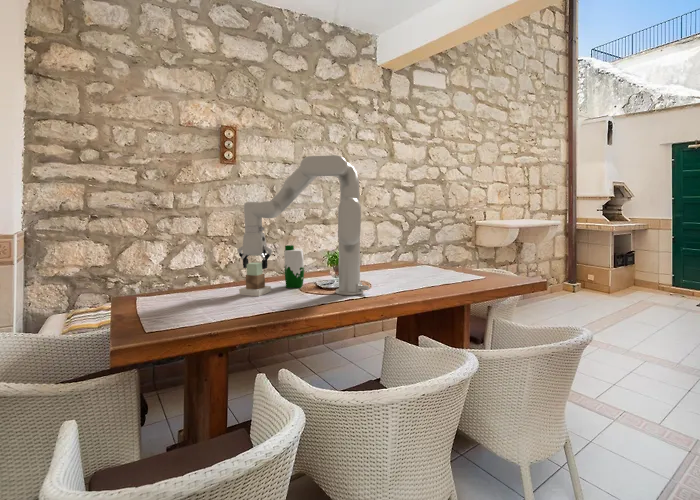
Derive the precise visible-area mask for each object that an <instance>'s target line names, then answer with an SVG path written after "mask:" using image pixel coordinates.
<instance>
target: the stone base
mask: <svg viewBox="0 0 700 500" xmlns="http://www.w3.org/2000/svg"><path fill="white" fill-rule="evenodd" d="M238 290H239V292H238V293H239V295H240V296H241V295H242V296H252V297H260V296H263V295H265V294H269V293H271V292H272V286H271V285H265V287H263V288H260V289H246V286H245V287H241V288H239V289H238Z"/></svg>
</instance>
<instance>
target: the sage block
mask: <svg viewBox="0 0 700 500" xmlns="http://www.w3.org/2000/svg"><path fill="white" fill-rule="evenodd" d="M263 271H264V269H262V262H248V264H247V268H246V275H254V276H257V275H261V274H264V272H263Z"/></svg>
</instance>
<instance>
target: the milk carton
mask: <svg viewBox="0 0 700 500" xmlns="http://www.w3.org/2000/svg"><path fill="white" fill-rule="evenodd" d="M284 247H285V248H284V253H283V254H284V281H285V288H286V289H301V288H302V287H303V286H304V278H305V267H304V266H305V260H304V258H305V257H304V249H302V248H295V247H294V245H292V244H291V245H290V244H288V245H284Z"/></svg>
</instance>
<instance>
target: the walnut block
mask: <svg viewBox="0 0 700 500" xmlns="http://www.w3.org/2000/svg"><path fill="white" fill-rule="evenodd" d="M265 276H266V275H265V273H263V274H261V275H257V276H254V275H247V274H246V275H245V287H246V289H260V288H263V287H265V286H266V279H265Z"/></svg>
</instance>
